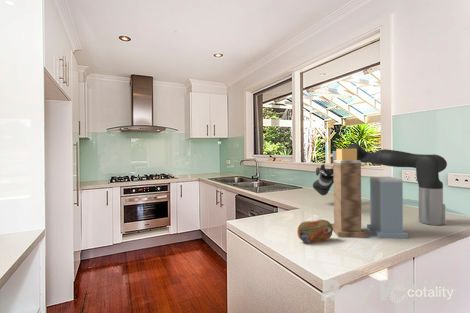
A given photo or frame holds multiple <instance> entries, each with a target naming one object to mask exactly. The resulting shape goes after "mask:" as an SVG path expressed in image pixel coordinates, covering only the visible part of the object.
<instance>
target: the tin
mask: <svg viewBox="0 0 470 313" xmlns="http://www.w3.org/2000/svg"><path fill="white" fill-rule="evenodd" d="M331 224H332V223H331V222H330V221H328V220H325V219H314V220H307V221H306V220H305V221H302V222H301V223H300V224H299V225H298V227H297V237H298V239H300V241H302V242H303V243H305V244H314V243H321V242H326V241H328V240H330V238H331V237H332V235H333V232H334V231H333V228H332V225H331Z"/></svg>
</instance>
